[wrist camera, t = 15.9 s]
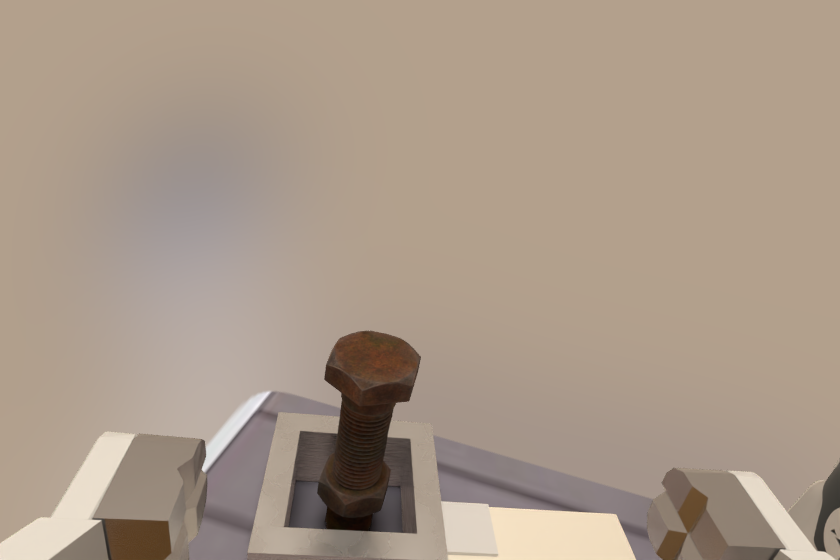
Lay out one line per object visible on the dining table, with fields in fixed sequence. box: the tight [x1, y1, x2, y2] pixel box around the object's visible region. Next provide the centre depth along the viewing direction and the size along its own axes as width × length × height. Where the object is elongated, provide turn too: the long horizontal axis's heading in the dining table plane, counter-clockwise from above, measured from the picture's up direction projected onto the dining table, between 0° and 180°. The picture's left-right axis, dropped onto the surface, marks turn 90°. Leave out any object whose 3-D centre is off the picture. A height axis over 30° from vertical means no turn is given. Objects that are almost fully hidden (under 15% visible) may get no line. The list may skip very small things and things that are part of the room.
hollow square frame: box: [247, 412, 448, 560], centre depth 39 cm, size 12×12×5 cm
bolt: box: [317, 331, 421, 531], centre depth 36 cm, size 6×5×15 cm
